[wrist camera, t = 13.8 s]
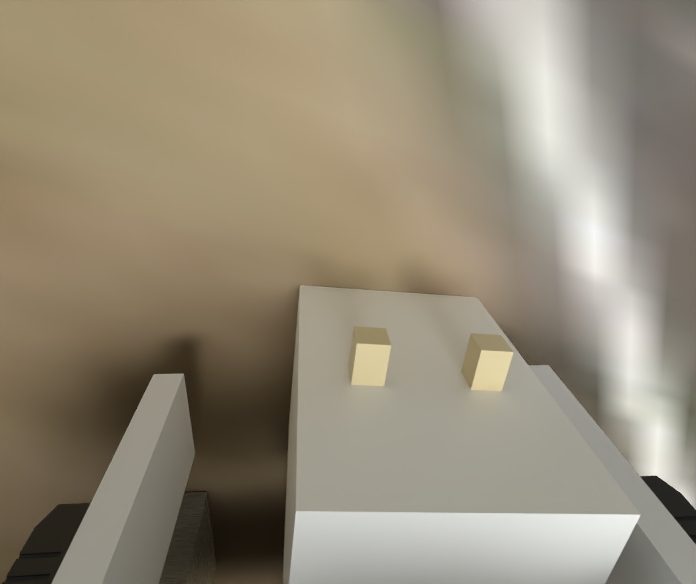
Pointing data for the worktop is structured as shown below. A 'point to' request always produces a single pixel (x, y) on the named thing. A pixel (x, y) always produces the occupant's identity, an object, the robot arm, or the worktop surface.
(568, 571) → the plug
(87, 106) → the worktop surface
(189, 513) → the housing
